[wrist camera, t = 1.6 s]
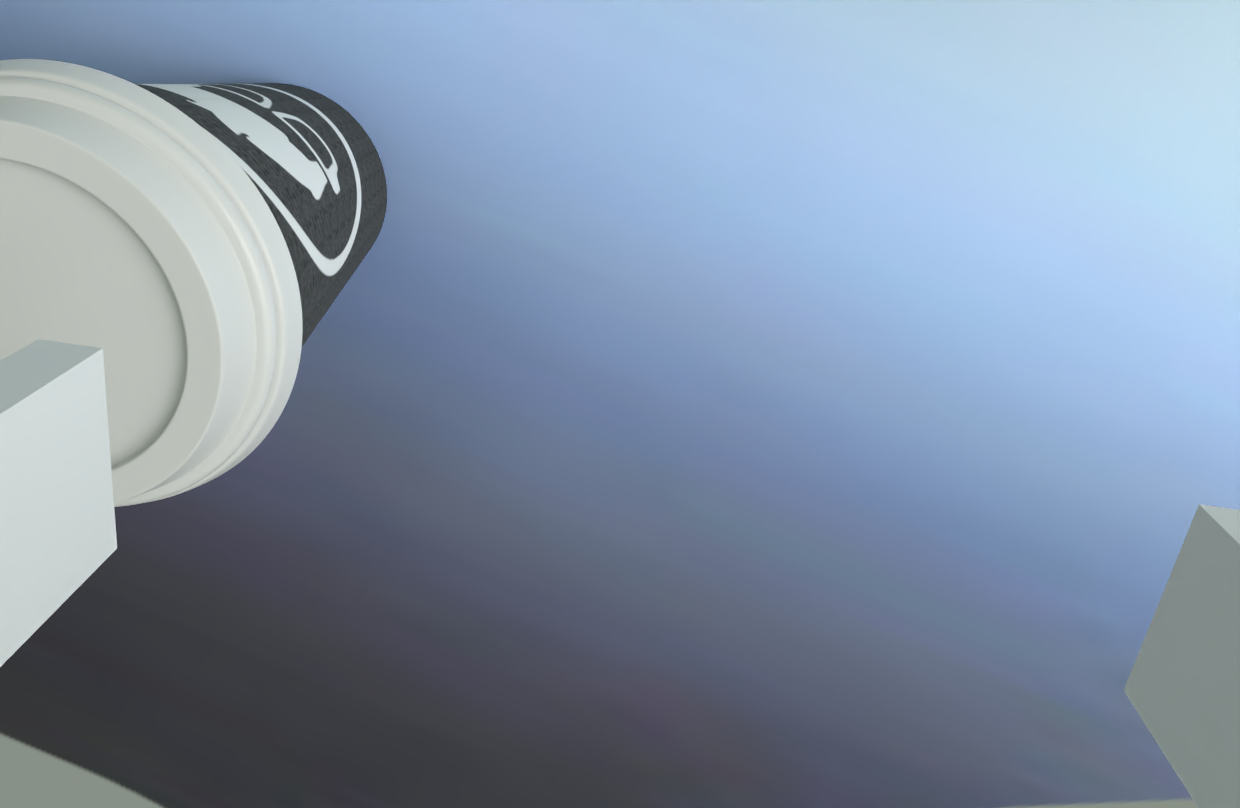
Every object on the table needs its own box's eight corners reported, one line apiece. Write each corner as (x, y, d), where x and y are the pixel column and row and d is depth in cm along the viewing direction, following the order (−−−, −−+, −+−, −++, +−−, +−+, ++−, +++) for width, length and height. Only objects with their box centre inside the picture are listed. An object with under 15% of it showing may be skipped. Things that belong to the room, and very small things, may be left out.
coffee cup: (98, 69, 32) (-336, 132, 18) (383, -1, 31) (152, 10, 17) (207, 348, 36) (-87, 579, 22) (467, 295, 34) (332, 502, 21)
